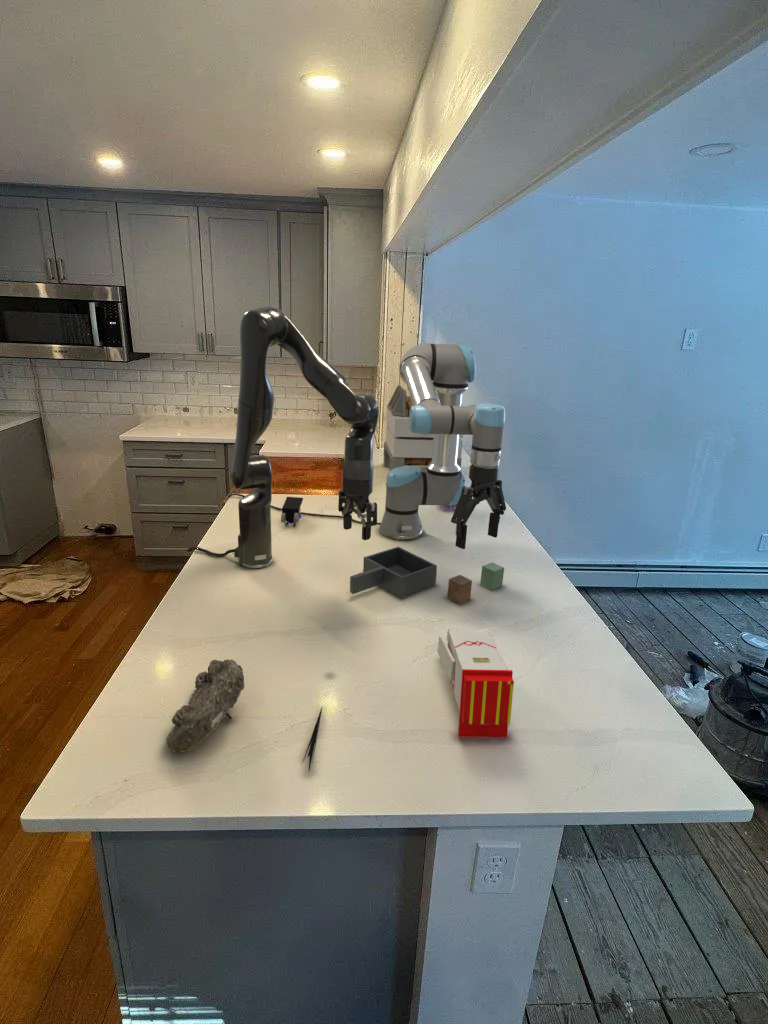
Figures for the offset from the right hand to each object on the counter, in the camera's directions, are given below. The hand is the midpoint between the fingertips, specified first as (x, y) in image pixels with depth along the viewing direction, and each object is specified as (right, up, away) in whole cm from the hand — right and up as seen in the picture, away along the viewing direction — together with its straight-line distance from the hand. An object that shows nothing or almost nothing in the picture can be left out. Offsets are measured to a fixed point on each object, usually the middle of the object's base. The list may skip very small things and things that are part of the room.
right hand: (476, 541), depth 153 cm
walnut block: (-4, -16, +3) cm, 17 cm away
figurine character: (-58, +4, +53) cm, 79 cm away
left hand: (-32, +2, -5) cm, 33 cm away
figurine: (+1, +10, +75) cm, 76 cm away
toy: (-7, -30, -34) cm, 46 cm away
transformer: (-8, +27, +122) cm, 125 cm away
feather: (-37, -32, -44) cm, 66 cm away
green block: (+6, -13, +12) cm, 19 cm away
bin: (-25, -13, +9) cm, 30 cm away
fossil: (-58, -31, -45) cm, 80 cm away
